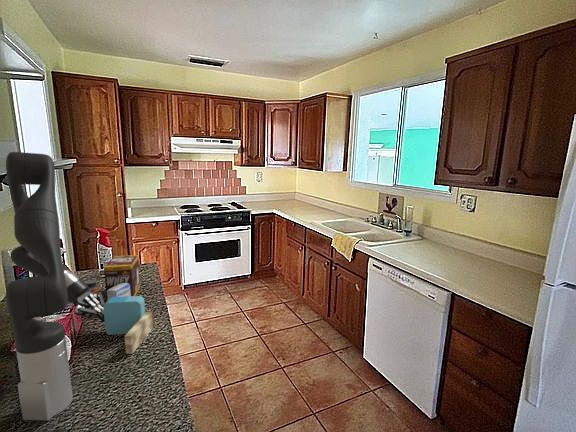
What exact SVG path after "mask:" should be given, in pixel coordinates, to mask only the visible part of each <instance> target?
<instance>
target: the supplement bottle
mask: <svg viewBox="0 0 576 432" xmlns="http://www.w3.org/2000/svg"><path fill="white" fill-rule="evenodd" d="M84 283H85V284H86V285H88V286H89V288H88V290H89V291H91V292H93V293H94V294H98V293H101V289H100V285H98V282H97V280H95V279H89V280H86V281H84ZM100 305H101V304H100ZM96 307H97V306H96ZM89 309H90V308H89Z"/></svg>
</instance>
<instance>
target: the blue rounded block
mask: <svg viewBox="0 0 576 432" xmlns="http://www.w3.org/2000/svg"><path fill="white" fill-rule="evenodd" d="M145 304H146V303H145V298H144V297H143V296H141V295H136V296H128V297H111V298H110V299H109V300H108V301H107V300H106V302H104V306H103V310H104V319H105V322H104V327H105V329H104V330H105V333H106V334H107V335H109V336H113V335H114V336H115V335H126V334H127V333H128V332H129V331H130V330H131V328H132V327H133V326H134V325H135V324H136V323H137V322H138V321H139V320H140V319H141V317H142V316H143V315H144V314H145V313H146V305H145Z"/></svg>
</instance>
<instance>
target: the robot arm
mask: <svg viewBox="0 0 576 432" xmlns="http://www.w3.org/2000/svg"><path fill="white" fill-rule="evenodd" d="M6 170H7V172H6ZM5 172H6V173H5V174H6V179H7V184H8V189H9V194H10V198H11V202H12V207H13V210H14V216H13V217H14V218H13V221H14V224H13V225H14V227H13V228H14V238H15V239H16V241H17V242H18V243H19V245H20V246H17V247H16V248H14V249H13V250H11V252H10V260H11V261H12V262H13V263H14V265H15V266H17V267H19V268H20V269H22V270H25V271H27V272H29V273H31V274H34V275H36V276H32V277H31V276H30V277H26V278H19V279H14V280H12V281H10V282H9V283H8V285H7V286H6V289H5V301H6V302H5V303H6V308H7V311H8V312H7V313H8V316H9V319H10V323H11V328H12V334H13V339H14V340H13V341H14V346H15V351H16V358H17V364H18V369H19V370H18V371H19V376H20V381H19V382H18V383H17V390H18V396H19V403H20V408H21V409H20V410H21V415H22V421H50V420H51V419H52V418H53V417H54V416H56V415H58V414H60V413H62V412H63V411H64V410H66V409H67V408H68V407H69V406H70V405H71V403H72V401H73V399H74V396H73V388H72V386H73V385H72V379H71V372H70V371H71V370H70V365H69V356H68V355H69V354H68V348H67V347H68V346H67V341H66V331H65V327H64V325H63V324H61V323H59V322H56V321H48V320H47V321H46V320H45V321H44V320H39V319H36V318H39V317H44V316H49V315H54V314H57V313H61V312H63V311H64V310H65V309H66V308H67V306H68V303H69V304H73V306H74V307H75V311H73V313H74V315H76V316H81V317H86V318H92V317H97V319H99V320H100V321H101V322H103V323H105V319H104V309H103V306H104V304H105V301H104V297H103V295H102V293H101V292H100V293H98V294H94V293H93V292H91V291H89V290H88V288H89V286H88V285H86V284H85V281H83V280H82V279H81V278H80V277H78V276H77V275H76V274H75V273H74V272H72V271H71V270H70V269H68V268H67V267H66V266H65V265H64V264H63V259H62V252H61V251H62V250H61V236H60V235H61V234H60V233H61V232H60V222H59V221H60V219H59V213H58V206H57V201H56V167H55V161H54V159H53V158H52V156H50V155H49V154H46V153H45V154H44V153H35V152H34V153H33V152H23V151H11V152H9V153H8V154H7V155H6V159H5ZM23 185H30V186H31V185H32V186H33V185H36V186H37V185H38V187H37V189H36V190H35V192H33V193H32V194H31V195H30V196H28V195H27V194H26V192H25V190H24V187H23ZM100 304H101V305H100ZM96 306H97V307H96ZM89 308H90V309H89Z"/></svg>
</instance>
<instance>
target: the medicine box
mask: <svg viewBox="0 0 576 432" xmlns="http://www.w3.org/2000/svg"><path fill="white" fill-rule="evenodd" d="M128 296H131V293H130V284H128V283H120V284H118V285H116V286H114V287H112V288H111V289H109V290H107V296H106V298H107V297H108V300H109V299H110V298H111V297H128Z"/></svg>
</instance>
